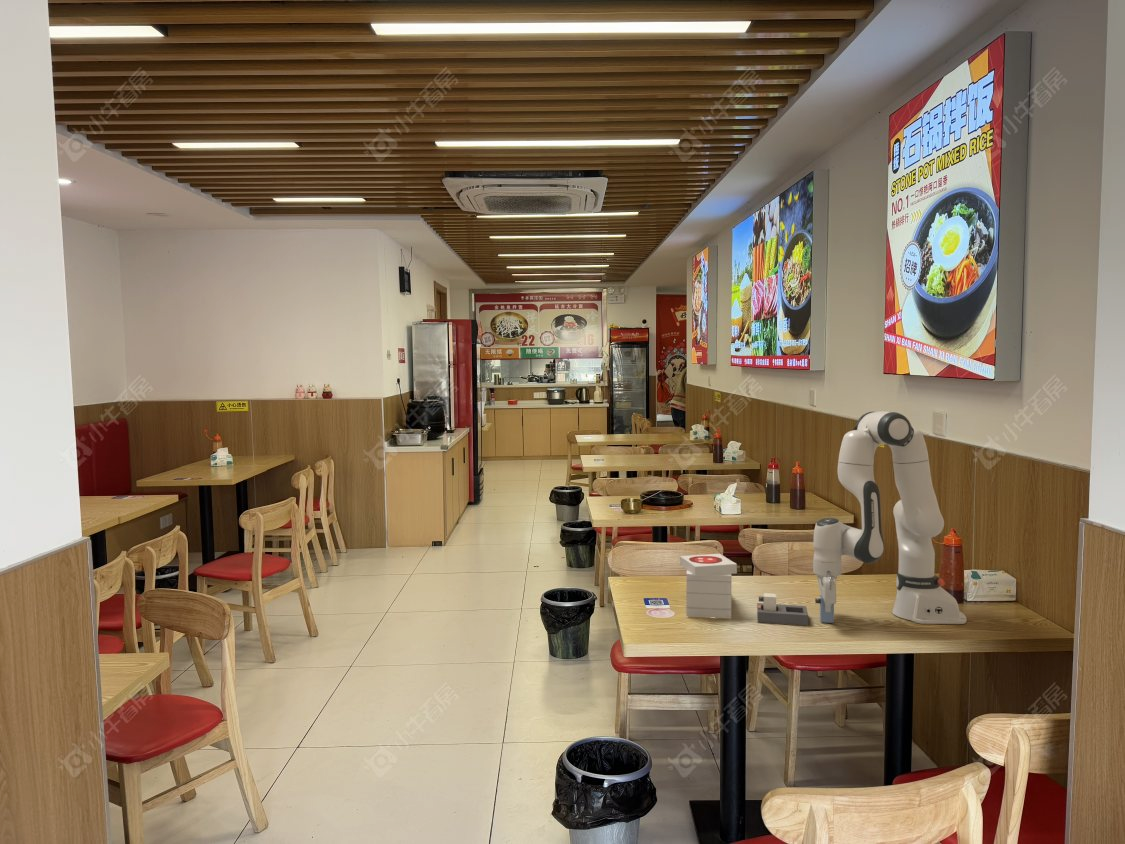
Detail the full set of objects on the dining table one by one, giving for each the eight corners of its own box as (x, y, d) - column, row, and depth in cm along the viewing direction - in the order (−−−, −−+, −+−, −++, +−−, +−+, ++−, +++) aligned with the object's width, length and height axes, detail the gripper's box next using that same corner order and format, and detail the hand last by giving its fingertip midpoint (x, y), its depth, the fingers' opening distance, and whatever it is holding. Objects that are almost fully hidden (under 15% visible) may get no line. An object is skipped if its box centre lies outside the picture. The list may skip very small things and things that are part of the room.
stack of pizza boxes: (732, 595, 285) (733, 547, 283) (737, 621, 255) (737, 568, 254) (680, 592, 288) (680, 545, 287) (679, 618, 258) (679, 566, 257)
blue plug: (832, 619, 256) (832, 595, 255) (833, 622, 252) (834, 599, 251) (814, 618, 257) (814, 594, 257) (815, 621, 253) (816, 598, 253)
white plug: (775, 617, 259) (775, 593, 259) (775, 620, 256) (776, 597, 255) (758, 615, 261) (758, 592, 260) (758, 619, 257) (758, 596, 256)
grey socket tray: (805, 616, 260) (806, 604, 260) (808, 625, 250) (808, 614, 250) (757, 612, 264) (757, 601, 263) (757, 622, 254) (757, 610, 254)
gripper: (841, 576, 242) (840, 619, 243) (833, 560, 262) (833, 600, 263) (820, 575, 244) (820, 618, 245) (814, 560, 264) (814, 599, 265)
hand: (826, 609), depth 254 cm, fingers closed on blue plug, 4 cm apart
